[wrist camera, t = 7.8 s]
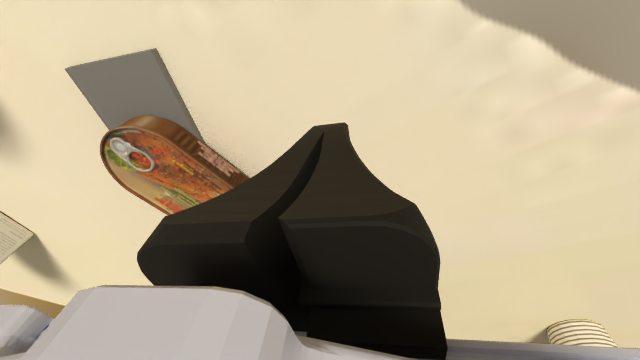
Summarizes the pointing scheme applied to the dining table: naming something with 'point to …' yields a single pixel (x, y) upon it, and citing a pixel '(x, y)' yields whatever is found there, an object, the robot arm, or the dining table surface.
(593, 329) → the cup
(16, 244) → the skincare box
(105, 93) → the mat
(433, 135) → the dining table surface
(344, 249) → the robot arm
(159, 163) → the tin
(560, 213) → the dining table surface
